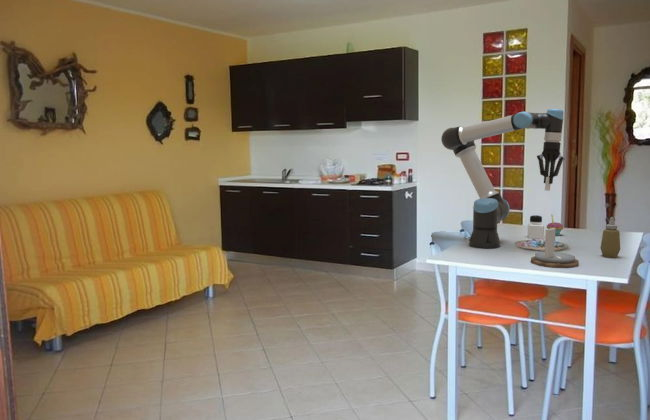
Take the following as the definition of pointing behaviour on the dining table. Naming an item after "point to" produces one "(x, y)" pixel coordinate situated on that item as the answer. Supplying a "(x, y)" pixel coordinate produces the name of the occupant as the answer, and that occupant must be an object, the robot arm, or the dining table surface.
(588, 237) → the dining table surface
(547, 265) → the base
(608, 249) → the squeeze bottle
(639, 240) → the dining table surface
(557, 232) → the cupcake
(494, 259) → the dining table surface
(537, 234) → the medicine bottle
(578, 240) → the dining table surface
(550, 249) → the dial
